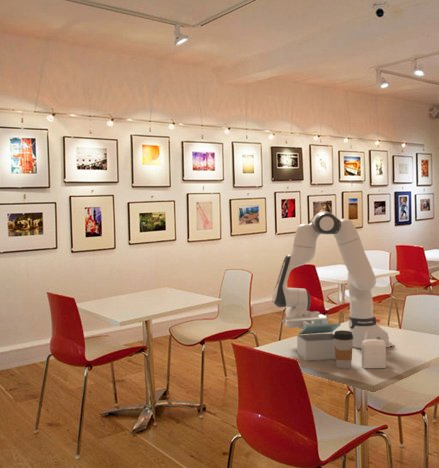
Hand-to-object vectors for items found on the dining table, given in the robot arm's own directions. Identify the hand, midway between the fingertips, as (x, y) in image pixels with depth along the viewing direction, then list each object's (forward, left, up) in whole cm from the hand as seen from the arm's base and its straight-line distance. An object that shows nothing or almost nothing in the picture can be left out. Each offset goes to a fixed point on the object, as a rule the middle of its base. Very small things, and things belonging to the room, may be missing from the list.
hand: (311, 325), depth 244 cm
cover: (-5, -1, -3) cm, 6 cm away
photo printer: (-21, +19, -15) cm, 32 cm away
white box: (-5, -1, -15) cm, 16 cm away
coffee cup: (-9, +15, -15) cm, 23 cm away
